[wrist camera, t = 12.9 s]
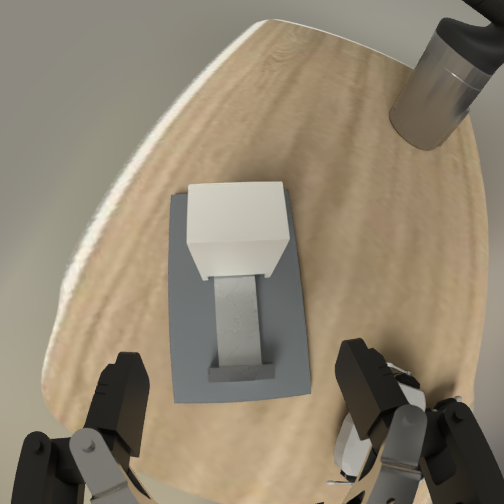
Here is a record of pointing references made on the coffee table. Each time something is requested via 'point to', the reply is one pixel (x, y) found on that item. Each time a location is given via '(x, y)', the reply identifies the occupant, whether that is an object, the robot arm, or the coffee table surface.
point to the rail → (238, 332)
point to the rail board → (205, 330)
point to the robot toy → (354, 451)
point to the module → (236, 227)
